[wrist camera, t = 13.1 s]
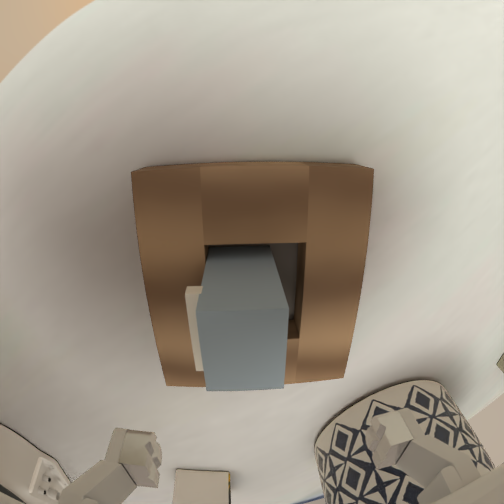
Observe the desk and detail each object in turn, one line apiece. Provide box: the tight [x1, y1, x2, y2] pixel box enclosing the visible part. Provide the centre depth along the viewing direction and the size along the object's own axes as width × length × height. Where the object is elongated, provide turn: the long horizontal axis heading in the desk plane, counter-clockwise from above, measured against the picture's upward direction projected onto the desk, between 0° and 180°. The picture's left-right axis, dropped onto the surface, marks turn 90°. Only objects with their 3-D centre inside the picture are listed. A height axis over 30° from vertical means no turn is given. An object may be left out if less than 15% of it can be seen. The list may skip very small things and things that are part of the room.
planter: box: [314, 380, 495, 504], centre depth 23 cm, size 18×18×16 cm
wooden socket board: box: [131, 162, 374, 387], centre depth 20 cm, size 16×14×3 cm
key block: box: [185, 246, 289, 391], centre depth 17 cm, size 5×5×8 cm
